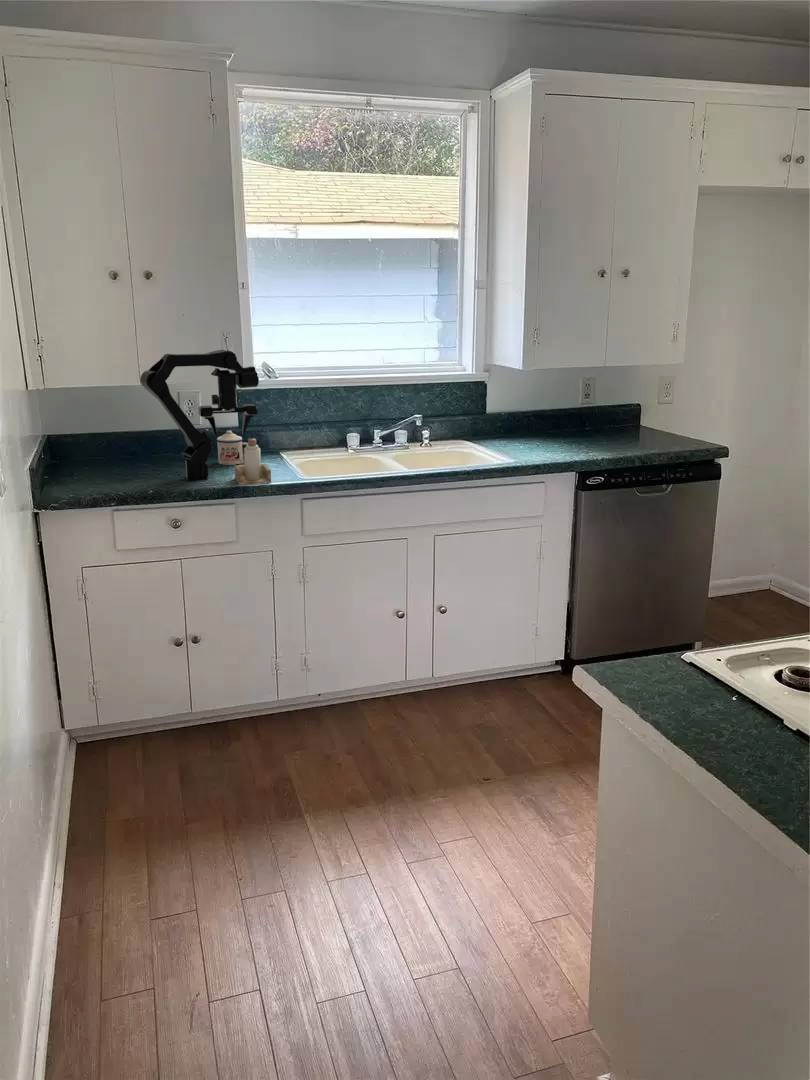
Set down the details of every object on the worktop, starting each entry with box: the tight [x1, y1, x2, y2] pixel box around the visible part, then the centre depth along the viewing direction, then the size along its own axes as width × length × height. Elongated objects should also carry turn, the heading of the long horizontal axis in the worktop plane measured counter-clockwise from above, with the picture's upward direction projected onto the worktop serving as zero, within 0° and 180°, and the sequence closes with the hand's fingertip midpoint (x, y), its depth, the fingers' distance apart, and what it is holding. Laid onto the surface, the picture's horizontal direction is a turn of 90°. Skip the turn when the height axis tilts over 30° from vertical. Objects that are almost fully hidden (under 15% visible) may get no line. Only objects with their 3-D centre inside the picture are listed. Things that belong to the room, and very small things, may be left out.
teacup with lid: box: [216, 430, 248, 466], centre depth 298 cm, size 12×9×12 cm
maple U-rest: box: [234, 463, 272, 486], centre depth 273 cm, size 10×10×4 cm
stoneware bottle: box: [243, 438, 262, 480], centre depth 271 cm, size 5×5×13 cm
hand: (229, 435), depth 279 cm, fingers open, 9 cm apart
